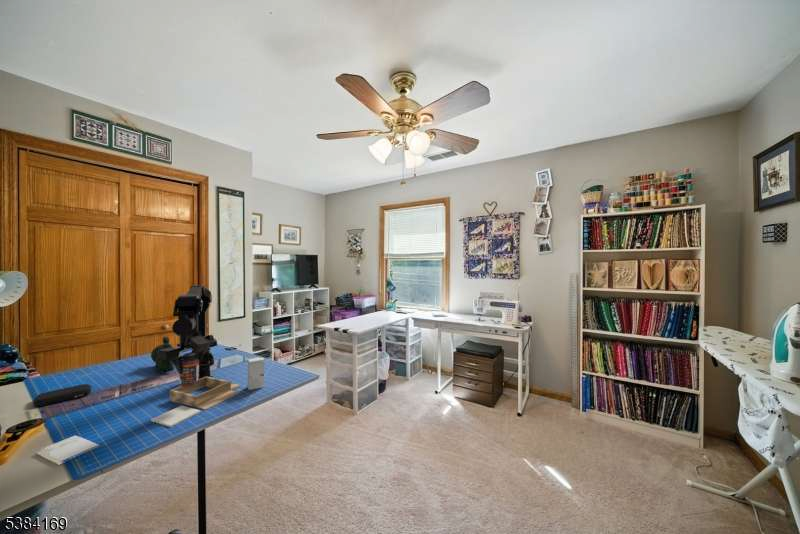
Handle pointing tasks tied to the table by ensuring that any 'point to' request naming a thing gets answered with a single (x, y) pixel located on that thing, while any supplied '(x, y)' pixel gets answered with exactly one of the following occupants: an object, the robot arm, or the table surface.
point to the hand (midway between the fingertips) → (189, 370)
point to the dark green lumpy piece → (162, 363)
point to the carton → (206, 399)
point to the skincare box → (255, 373)
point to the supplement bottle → (189, 370)
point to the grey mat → (175, 416)
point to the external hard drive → (70, 448)
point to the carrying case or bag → (62, 394)
